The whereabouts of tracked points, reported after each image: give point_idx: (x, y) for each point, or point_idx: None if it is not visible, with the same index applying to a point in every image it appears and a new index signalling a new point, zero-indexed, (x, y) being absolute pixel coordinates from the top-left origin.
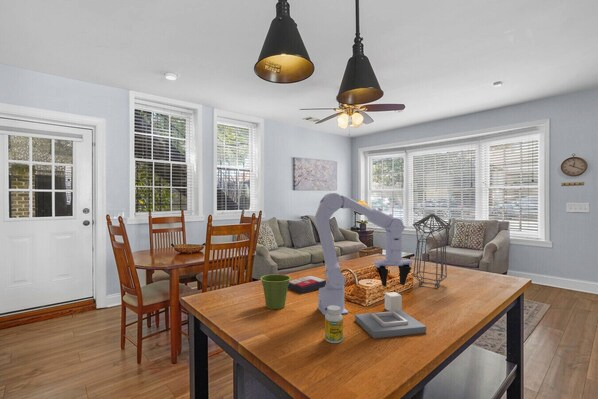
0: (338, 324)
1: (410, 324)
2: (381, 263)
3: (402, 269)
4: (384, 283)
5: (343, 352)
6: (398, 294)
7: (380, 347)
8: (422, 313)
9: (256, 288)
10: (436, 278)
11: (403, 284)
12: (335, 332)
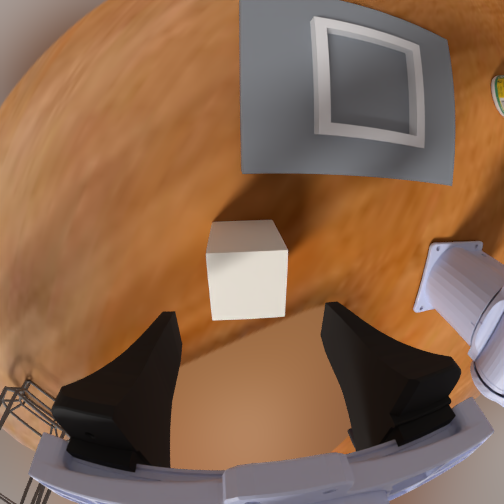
0: None
1: (300, 17)
2: (464, 438)
3: (151, 428)
4: (349, 313)
5: (491, 41)
6: (215, 279)
7: (429, 4)
8: (125, 187)
9: (463, 397)
10: (14, 397)
11: (170, 313)
12: None
